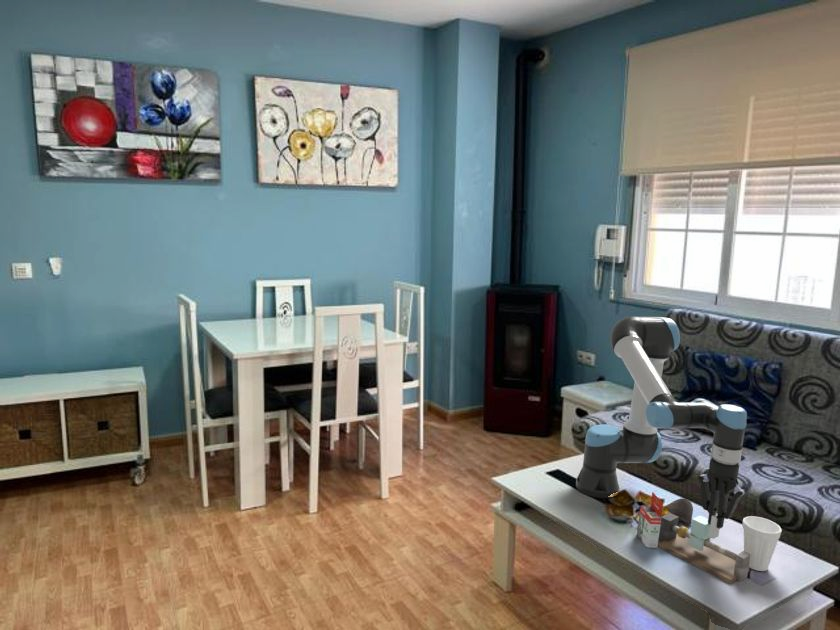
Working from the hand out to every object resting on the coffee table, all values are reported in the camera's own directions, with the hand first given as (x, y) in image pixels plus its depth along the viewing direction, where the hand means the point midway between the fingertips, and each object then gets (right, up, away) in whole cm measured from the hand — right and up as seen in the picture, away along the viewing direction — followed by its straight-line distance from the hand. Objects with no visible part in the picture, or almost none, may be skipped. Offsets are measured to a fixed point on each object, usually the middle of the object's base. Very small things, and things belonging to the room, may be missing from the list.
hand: (713, 536), depth 177 cm
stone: (+1, -4, +27) cm, 27 cm away
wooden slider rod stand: (-2, -8, +3) cm, 8 cm away
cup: (+13, -9, +1) cm, 15 cm away
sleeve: (-3, -4, +4) cm, 6 cm away
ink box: (-15, -6, +11) cm, 20 cm away
